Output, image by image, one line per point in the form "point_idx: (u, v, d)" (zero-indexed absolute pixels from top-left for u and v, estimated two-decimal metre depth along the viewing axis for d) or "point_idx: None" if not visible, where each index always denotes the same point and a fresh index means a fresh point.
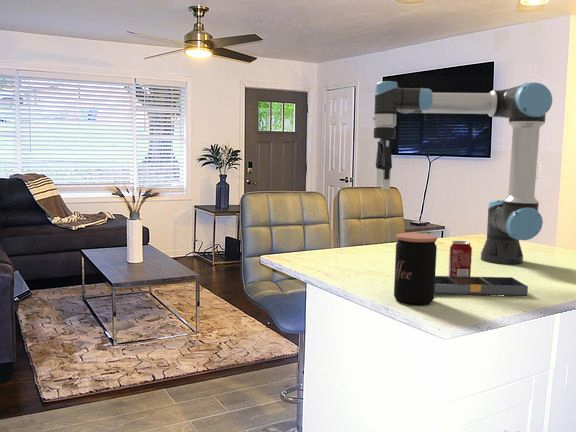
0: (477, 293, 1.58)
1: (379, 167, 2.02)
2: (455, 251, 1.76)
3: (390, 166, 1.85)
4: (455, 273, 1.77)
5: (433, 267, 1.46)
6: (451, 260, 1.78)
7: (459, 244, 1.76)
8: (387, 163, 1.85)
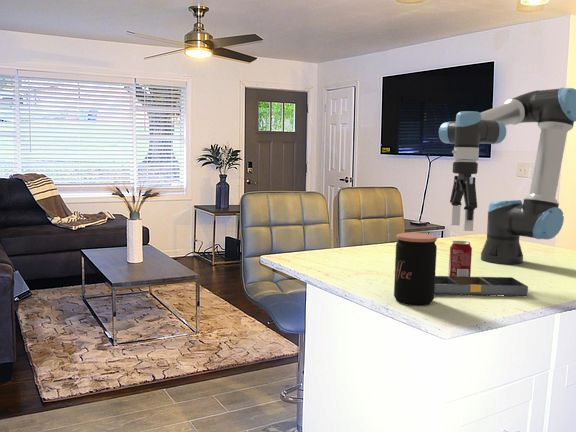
0: (477, 293, 1.58)
1: (455, 204, 1.84)
2: (455, 251, 1.76)
3: (475, 206, 1.67)
4: (455, 273, 1.77)
5: (433, 267, 1.46)
6: (451, 260, 1.78)
7: (459, 244, 1.76)
8: (472, 203, 1.67)
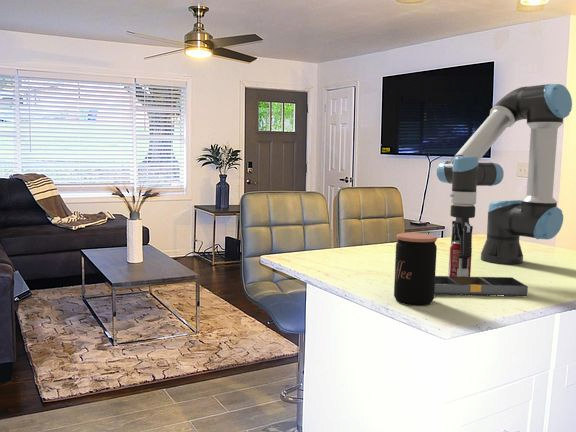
0: (477, 293, 1.58)
1: None
2: (455, 251, 1.76)
3: (469, 255, 1.72)
4: (455, 273, 1.77)
5: (433, 267, 1.46)
6: (451, 260, 1.78)
7: (459, 244, 1.76)
8: (466, 253, 1.72)
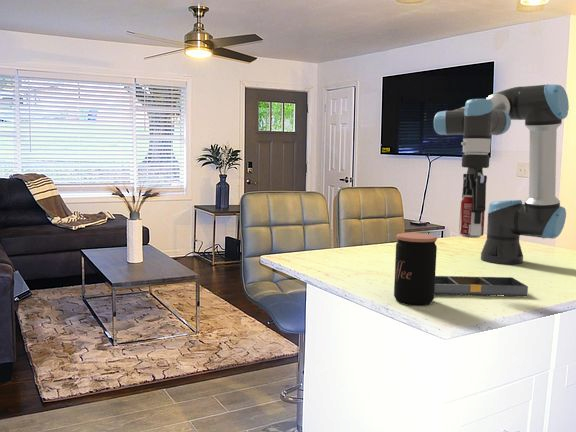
0: (477, 293, 1.58)
1: None
2: (467, 205, 1.59)
3: (483, 209, 1.54)
4: (466, 229, 1.59)
5: (433, 267, 1.46)
6: (462, 215, 1.60)
7: (471, 197, 1.58)
8: (480, 205, 1.54)
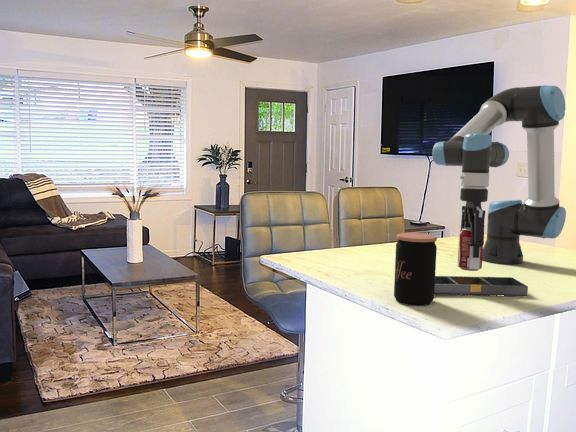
0: (477, 293, 1.58)
1: None
2: (465, 239, 1.60)
3: (482, 243, 1.55)
4: (465, 262, 1.60)
5: (433, 267, 1.46)
6: (461, 248, 1.61)
7: (470, 231, 1.59)
8: (478, 240, 1.55)
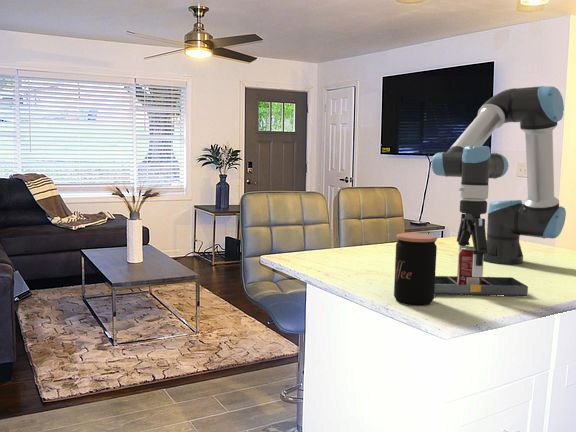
0: (477, 293, 1.58)
1: (462, 244, 1.69)
2: (464, 258, 1.60)
3: (485, 251, 1.52)
4: (464, 282, 1.61)
5: (433, 267, 1.46)
6: (460, 268, 1.62)
7: (469, 250, 1.60)
8: (481, 247, 1.53)
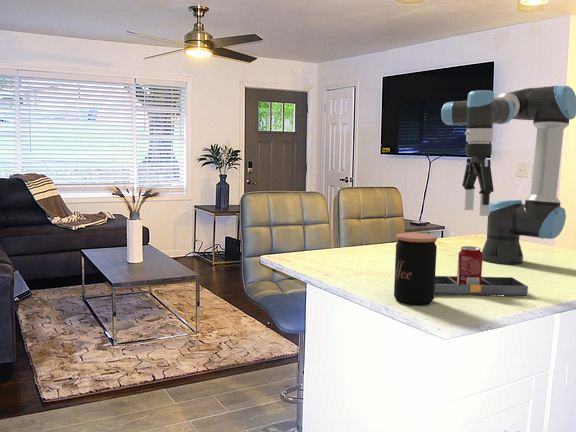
0: (477, 293, 1.58)
1: (468, 188, 1.76)
2: (464, 258, 1.60)
3: (491, 190, 1.59)
4: (464, 282, 1.61)
5: (433, 267, 1.46)
6: (460, 268, 1.62)
7: (469, 250, 1.60)
8: (488, 186, 1.60)
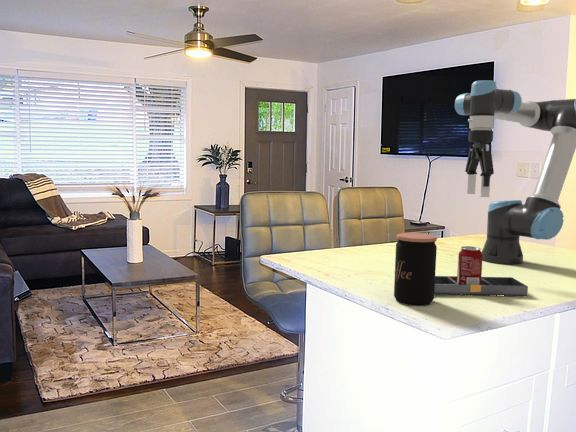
0: (477, 293, 1.58)
1: (470, 173, 1.88)
2: (464, 258, 1.60)
3: (492, 172, 1.71)
4: (464, 282, 1.61)
5: (433, 267, 1.46)
6: (460, 268, 1.62)
7: (469, 250, 1.60)
8: (488, 169, 1.71)
